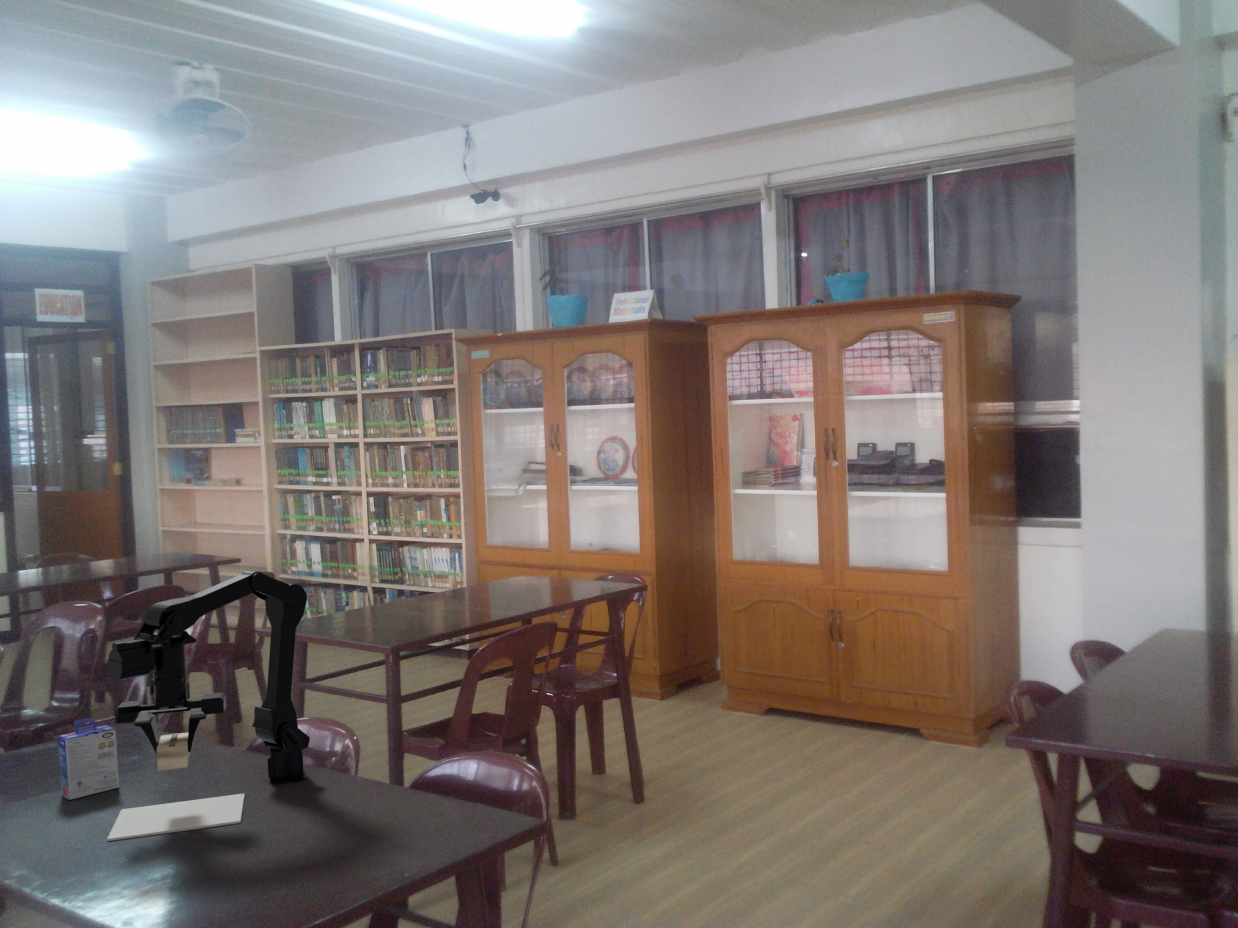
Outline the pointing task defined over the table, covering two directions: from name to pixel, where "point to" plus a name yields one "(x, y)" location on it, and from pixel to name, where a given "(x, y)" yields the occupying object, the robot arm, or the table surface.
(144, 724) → the robot arm
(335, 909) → the table surface
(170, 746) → the grooved beige block
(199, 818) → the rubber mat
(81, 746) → the ink cartridge box
